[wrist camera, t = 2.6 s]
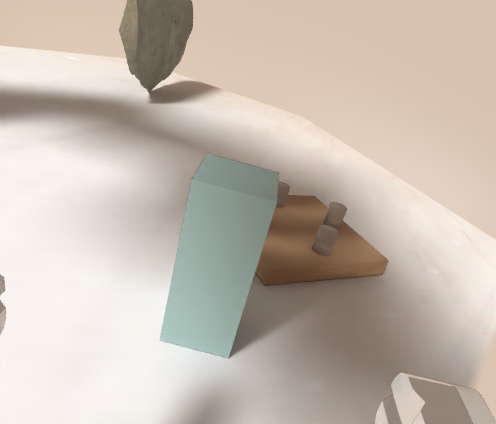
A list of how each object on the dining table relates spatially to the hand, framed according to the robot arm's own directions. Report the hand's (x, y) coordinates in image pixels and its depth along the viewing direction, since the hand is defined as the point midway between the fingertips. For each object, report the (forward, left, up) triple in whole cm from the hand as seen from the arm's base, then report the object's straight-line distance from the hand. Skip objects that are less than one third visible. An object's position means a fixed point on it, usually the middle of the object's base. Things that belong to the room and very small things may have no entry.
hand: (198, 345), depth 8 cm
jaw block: (-11, +6, -11) cm, 17 cm away
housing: (-20, +18, -11) cm, 29 cm away
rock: (-71, +16, -11) cm, 74 cm away
